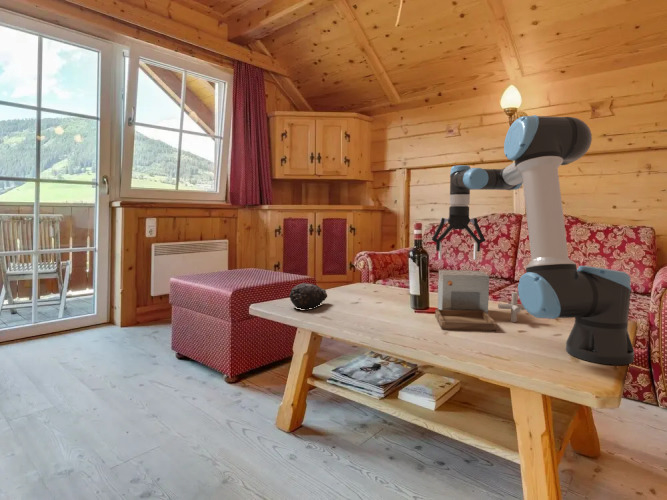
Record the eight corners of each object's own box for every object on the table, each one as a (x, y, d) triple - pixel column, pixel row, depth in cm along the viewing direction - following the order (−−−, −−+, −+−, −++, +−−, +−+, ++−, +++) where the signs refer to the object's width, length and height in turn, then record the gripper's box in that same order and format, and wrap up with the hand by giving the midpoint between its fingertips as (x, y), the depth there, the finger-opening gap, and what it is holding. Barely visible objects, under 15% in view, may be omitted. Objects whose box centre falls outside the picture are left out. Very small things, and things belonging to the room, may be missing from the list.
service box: (488, 317, 147) (489, 275, 145) (442, 316, 149) (443, 274, 147) (479, 308, 160) (481, 270, 158) (437, 307, 162) (438, 269, 160)
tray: (496, 331, 130) (497, 323, 129) (441, 329, 132) (441, 321, 132) (484, 317, 147) (484, 310, 146) (435, 316, 149) (435, 309, 148)
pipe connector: (533, 326, 136) (534, 296, 135) (501, 324, 138) (502, 294, 137) (525, 318, 146) (526, 290, 145) (495, 316, 148) (496, 289, 147)
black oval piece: (330, 303, 169) (330, 279, 168) (308, 313, 153) (307, 286, 152) (308, 300, 174) (308, 277, 173) (284, 309, 158) (284, 284, 157)
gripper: (489, 205, 164) (487, 258, 166) (426, 205, 167) (424, 257, 169) (494, 205, 157) (492, 261, 159) (427, 205, 160) (426, 259, 162)
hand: (457, 259), depth 164 cm, fingers open, 13 cm apart
